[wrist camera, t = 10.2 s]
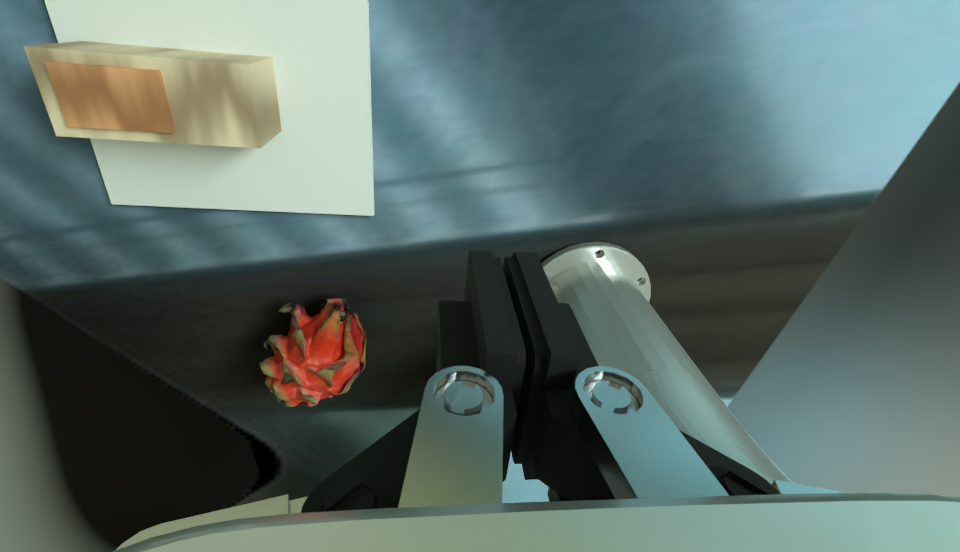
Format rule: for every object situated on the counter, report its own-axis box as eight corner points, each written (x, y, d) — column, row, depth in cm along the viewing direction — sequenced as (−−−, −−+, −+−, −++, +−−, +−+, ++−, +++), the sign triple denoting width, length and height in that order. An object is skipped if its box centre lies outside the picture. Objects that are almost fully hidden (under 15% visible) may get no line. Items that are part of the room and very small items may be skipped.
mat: (374, 213, 39) (373, 215, 38) (116, 201, 36) (111, 204, 36) (367, -45, 30) (366, -46, 29) (23, -85, 27) (15, -86, 27)
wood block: (258, 149, 30) (53, 137, 28) (281, 130, 34) (105, 119, 33) (246, 65, 27) (19, 46, 26) (272, 56, 32) (81, 40, 30)
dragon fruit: (291, 360, 48) (348, 268, 45) (348, 416, 46) (411, 323, 43) (221, 382, 40) (284, 271, 37) (285, 450, 38) (357, 338, 35)
